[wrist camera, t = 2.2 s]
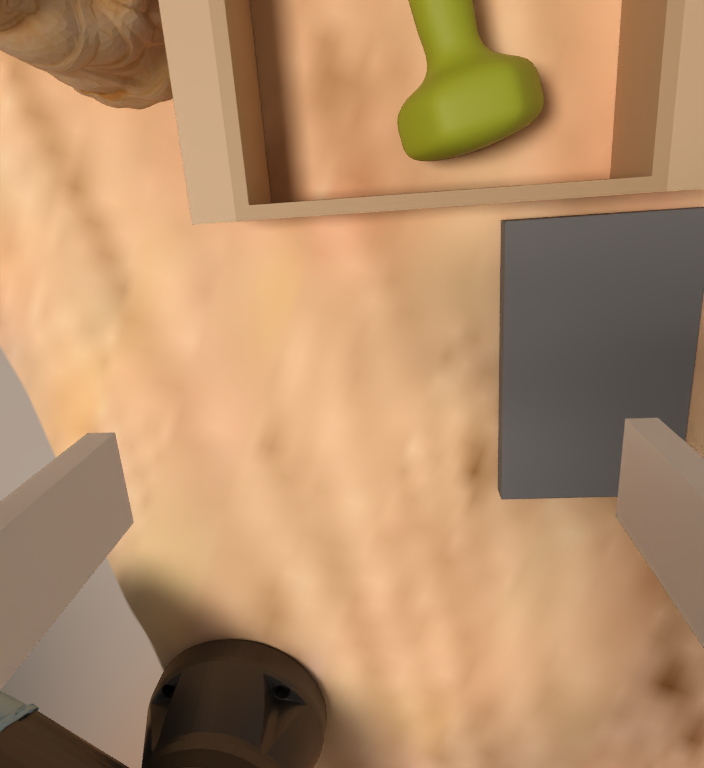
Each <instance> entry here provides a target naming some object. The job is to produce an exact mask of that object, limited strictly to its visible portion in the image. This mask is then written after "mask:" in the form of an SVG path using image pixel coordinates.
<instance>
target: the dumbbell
mask: <svg viewBox="0 0 704 768" xmlns="http://www.w3.org/2000/svg"><path fill="white" fill-rule="evenodd" d="M408 1H409V4H410V8H411V11H412V14H413V17H414V21H415V24H416V28H417V31H418V34H419V37H420V40H421V43H422V46H423V48H424V51H425V55H426V59H427V73H426V77H425V79H424V81H423V83H422V84H421V86H420V87H419V88H418V89H417V90H416V91H415V92H414V93H413V94H412V95H411V96H410V97H409V98H408V99H407V100H406V102H405V103H404V104H403V106H402V108H401V110H400V112H399V114H398V122H397V123H398V130H399V135H400V138H401V142H402V145H403V148H404V150H405V152H406V154H407V155H408V156H409V157H410V158H412V159H414V160H419V161H436V160H443V159H449V158H454V157H458V156H461V155H464V154H468V153H470V152H473V151H476V150H479V149H481V148H484V147H486V146H489V145H491V144H493V143H496V142H498V141H500V140H502V139H504V138H506V137H508V136H510V135H512V134H514V133H516V132H518V131H520V130H521V129H523V128H525V127H526V126H528V125H529V124H531V123H532V122H533V121H534V120H535V119H536V118H537V117H538V116H539V114H540V113H541V111H542V109H543V106H544V95H543V90H542V85H541V81H540V77H539V74H538V72H537V69H536V67H535V66H534V65H533V63H532V62H530V61H529V60H528V59H526V58H522V57H519V56H513V55H506V54H500V53H497V52H494V51H492V50H490V49H488V48H487V47H486V46H485V45H484V44H483V42H482V41H481V39H480V36H479V33H478V29H477V24H476V18H475V11H474V6H473V0H408Z"/></svg>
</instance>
